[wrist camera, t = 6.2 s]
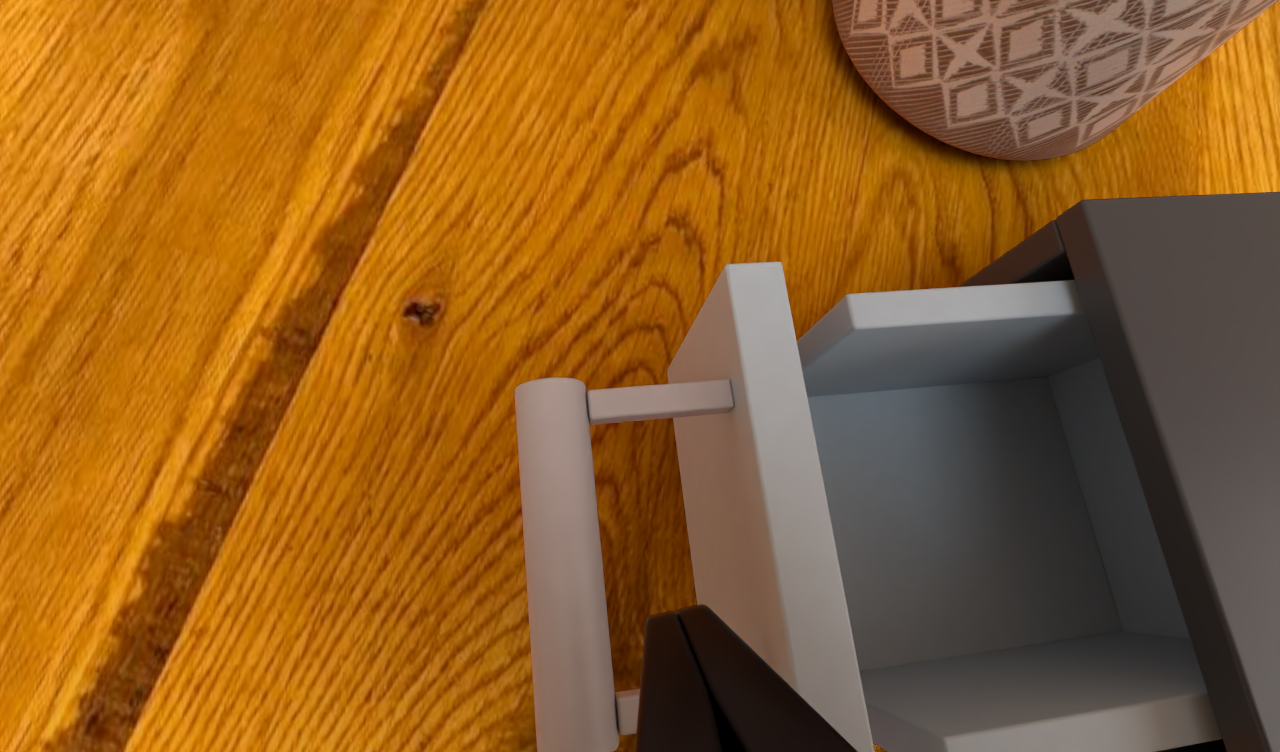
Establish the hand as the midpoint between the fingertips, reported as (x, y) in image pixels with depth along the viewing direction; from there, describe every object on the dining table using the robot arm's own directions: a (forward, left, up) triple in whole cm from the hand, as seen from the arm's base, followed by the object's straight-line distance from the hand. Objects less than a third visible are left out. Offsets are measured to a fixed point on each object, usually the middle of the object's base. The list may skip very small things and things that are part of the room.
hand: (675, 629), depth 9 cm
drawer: (+2, -6, -9) cm, 11 cm away
